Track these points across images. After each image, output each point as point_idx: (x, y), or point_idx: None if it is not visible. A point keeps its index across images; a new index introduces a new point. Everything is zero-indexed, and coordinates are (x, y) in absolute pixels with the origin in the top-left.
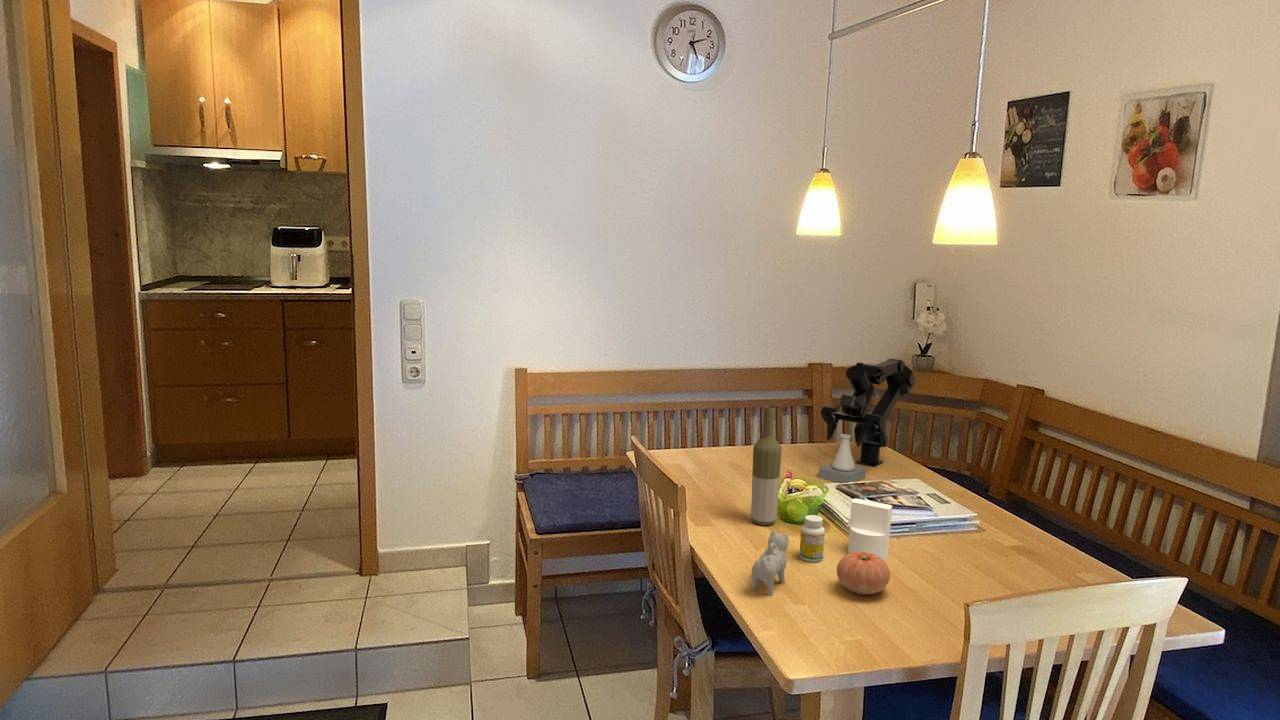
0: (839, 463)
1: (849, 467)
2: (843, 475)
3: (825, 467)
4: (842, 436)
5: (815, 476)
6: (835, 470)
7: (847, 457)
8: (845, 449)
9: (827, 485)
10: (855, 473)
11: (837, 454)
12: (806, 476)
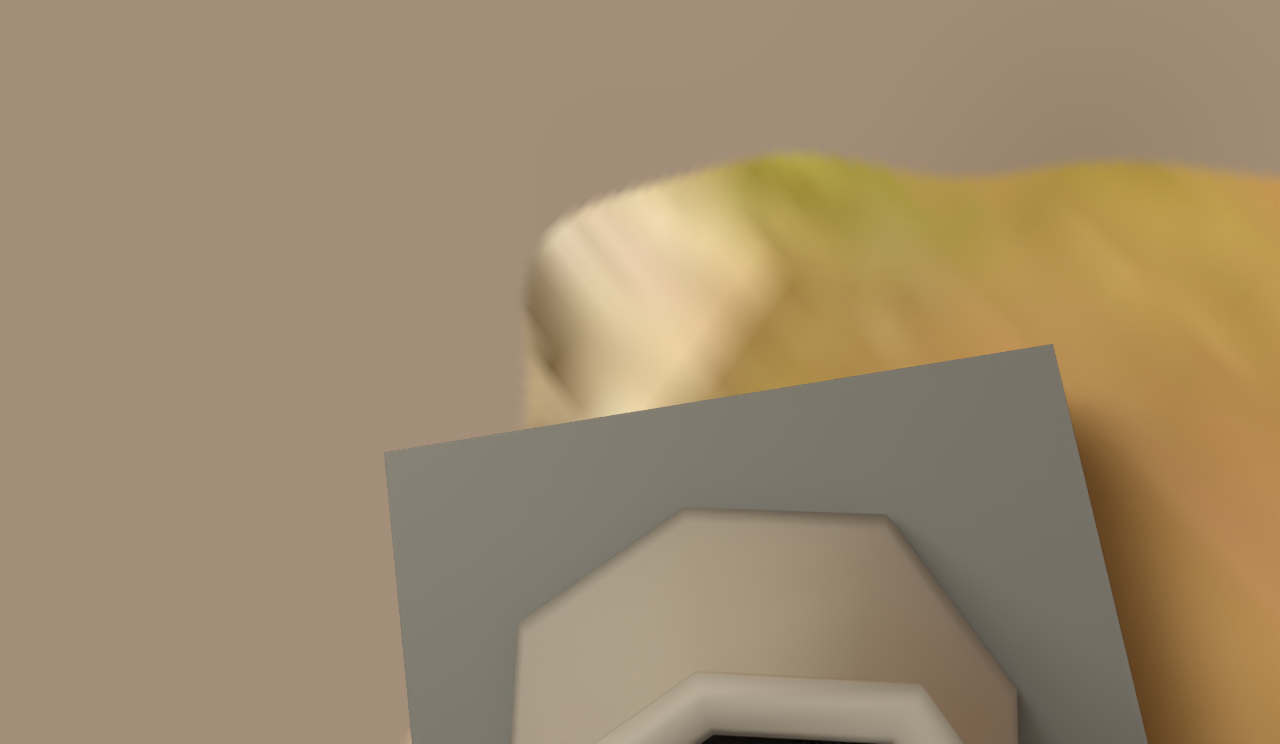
0: (713, 544)
1: (524, 661)
2: (522, 437)
3: (1005, 481)
4: (773, 675)
5: (1090, 407)
6: (754, 489)
7: (567, 677)
8: (638, 701)
9: (660, 207)
10: (407, 682)
11: (850, 604)
12: (1176, 280)
